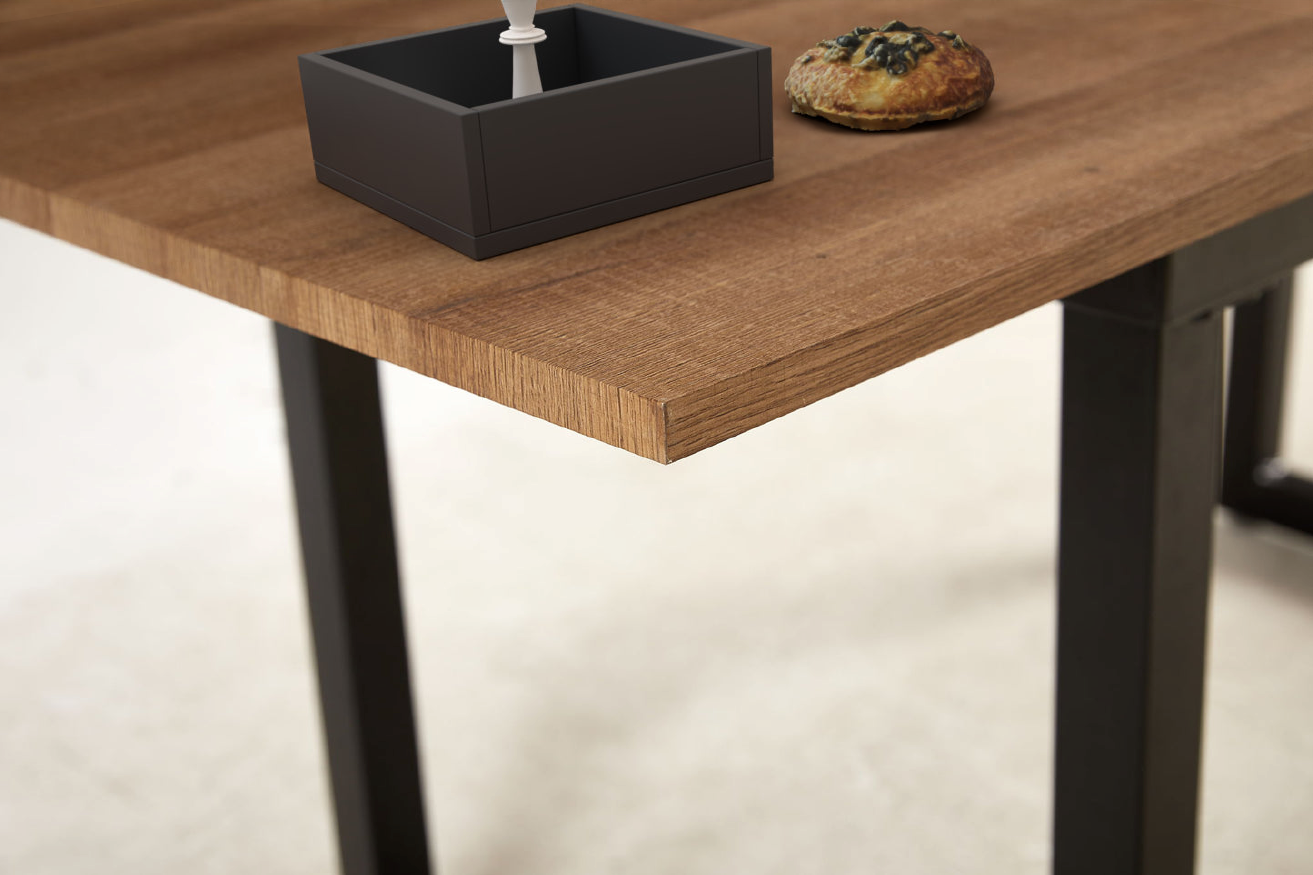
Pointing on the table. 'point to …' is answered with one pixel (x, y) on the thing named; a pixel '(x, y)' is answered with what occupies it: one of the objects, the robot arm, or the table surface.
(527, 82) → the chess piece
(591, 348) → the table surface
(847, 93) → the bread roll
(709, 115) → the bin
